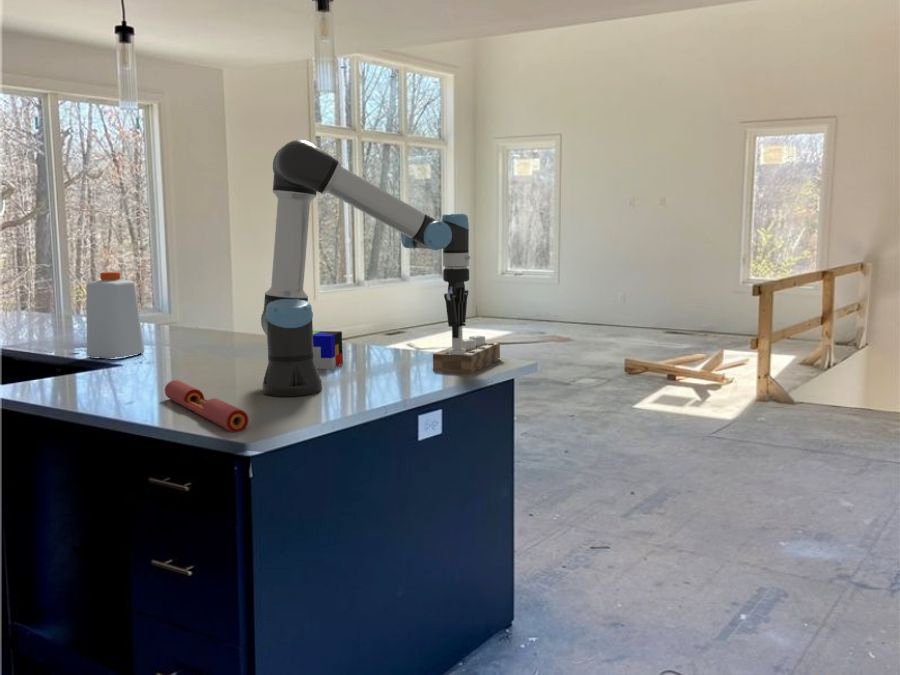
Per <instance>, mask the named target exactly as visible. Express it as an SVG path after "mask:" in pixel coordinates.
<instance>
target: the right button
mask: <svg viewBox="0 0 900 675" xmlns="http://www.w3.org/2000/svg"><path fill="white" fill-rule="evenodd" d="M468 339H473V340H476V346H478V347H482V346H484V345H485V343H486V336H484V335H470V336H469V337H468Z"/></svg>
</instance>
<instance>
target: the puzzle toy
mask: <svg viewBox="0 0 900 675" xmlns="http://www.w3.org/2000/svg"><path fill="white" fill-rule="evenodd" d="M313 350H314V362H315V365H316V368H317V370H319V369H321V370H333V369H334V368H337V367H338V366H340V365H342V364H343V363H344V361H343V360H344V356H343V355H344V354H343V353H344V352H343V332H342V331H340V330H339V331H337V330H336V331H333V330H330V331H326V330H325V331H324V330H313ZM341 363H342V364H341ZM339 364H340V365H339ZM336 366H337V367H336Z"/></svg>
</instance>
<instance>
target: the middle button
mask: <svg viewBox="0 0 900 675" xmlns="http://www.w3.org/2000/svg"><path fill="white" fill-rule="evenodd" d="M463 348H465V349H466V350H469V351H472V350H474V349H476V340H473V339H469V338H467V339H465V338H464V339H463Z"/></svg>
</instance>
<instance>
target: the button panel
mask: <svg viewBox="0 0 900 675" xmlns="http://www.w3.org/2000/svg"><path fill="white" fill-rule="evenodd" d="M500 345H501V344H500V343H497V342H489V343H488V342H487V343H486V342H485V345H484V346H482V347H478V346H476V349H474V350H472V351H469V350H466V353H465V354H463V355H455V354H449V349H450V348H452V346H450V347H447V348H444V349H442V350H439V351H436V352H434V353H432V371H434V372H445V373H447V372H448V373H458V374H459V373H461V374H464V373H465V374H473V373H475V372H477V371H480V370H481V369H483V368H485V367H487V366H490V365H492V364H494V363H495V362H494V361H496V362H498V361H500V359H501V348H500V347H501V346H500ZM498 358H500V359H498ZM493 362H494V363H493Z"/></svg>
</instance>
